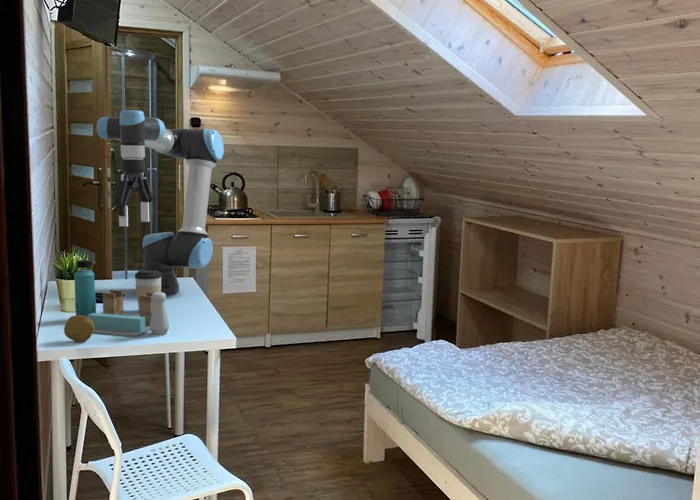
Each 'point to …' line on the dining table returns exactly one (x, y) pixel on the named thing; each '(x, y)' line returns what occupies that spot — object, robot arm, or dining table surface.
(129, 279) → the dining table surface
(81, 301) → the beverage bottle
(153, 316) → the salt shaker
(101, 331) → the mat
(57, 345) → the dining table surface
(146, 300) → the post
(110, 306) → the post
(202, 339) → the dining table surface
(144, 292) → the coffee cup
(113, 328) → the rail
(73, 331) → the potato
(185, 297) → the dining table surface
